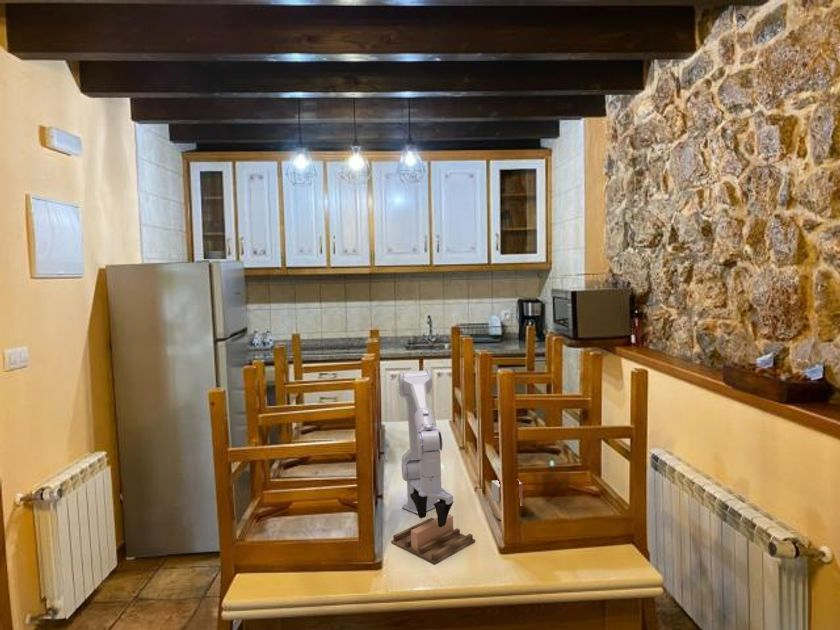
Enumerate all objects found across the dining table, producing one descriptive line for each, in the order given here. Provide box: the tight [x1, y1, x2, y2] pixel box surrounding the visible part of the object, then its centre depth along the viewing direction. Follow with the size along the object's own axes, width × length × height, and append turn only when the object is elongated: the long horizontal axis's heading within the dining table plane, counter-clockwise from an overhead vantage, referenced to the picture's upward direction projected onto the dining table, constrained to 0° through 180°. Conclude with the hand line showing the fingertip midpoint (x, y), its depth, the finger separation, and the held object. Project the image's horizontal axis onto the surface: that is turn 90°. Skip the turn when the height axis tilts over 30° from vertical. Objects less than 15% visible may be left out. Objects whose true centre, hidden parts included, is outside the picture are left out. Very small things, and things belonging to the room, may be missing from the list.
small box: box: [491, 479, 524, 507], centre depth 171 cm, size 8×6×10 cm
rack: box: [390, 517, 476, 566], centre depth 157 cm, size 16×17×2 cm
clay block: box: [411, 513, 454, 551], centre depth 156 cm, size 14×2×5 cm, turn 134°
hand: (432, 521), depth 156 cm, fingers open, 7 cm apart
